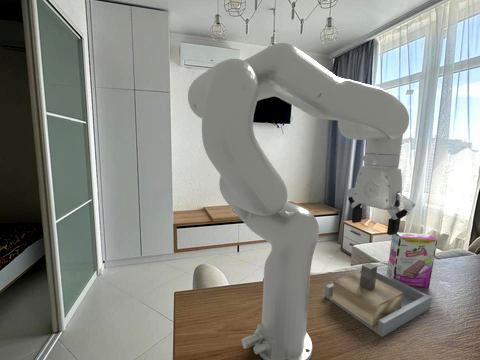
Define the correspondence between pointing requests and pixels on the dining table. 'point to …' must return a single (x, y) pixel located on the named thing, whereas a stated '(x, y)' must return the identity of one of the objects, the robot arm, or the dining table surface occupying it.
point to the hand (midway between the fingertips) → (373, 227)
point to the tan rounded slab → (367, 295)
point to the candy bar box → (412, 258)
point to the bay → (410, 309)
